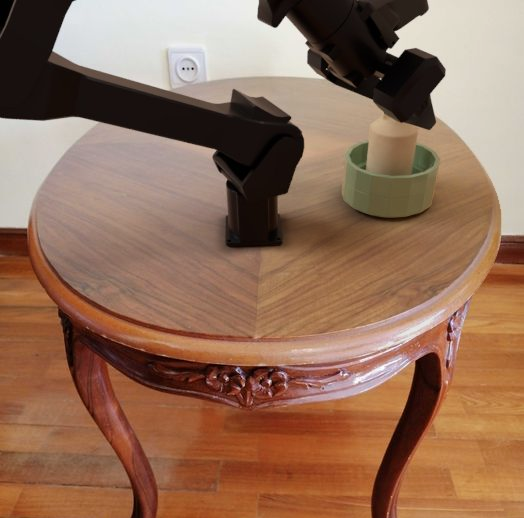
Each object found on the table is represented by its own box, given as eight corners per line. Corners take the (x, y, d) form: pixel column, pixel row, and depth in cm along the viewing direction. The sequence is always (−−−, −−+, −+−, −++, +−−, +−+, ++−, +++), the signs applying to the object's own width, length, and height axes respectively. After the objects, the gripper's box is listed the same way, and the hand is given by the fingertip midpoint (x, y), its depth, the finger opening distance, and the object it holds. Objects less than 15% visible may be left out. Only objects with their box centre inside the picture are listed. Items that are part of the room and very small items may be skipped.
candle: (356, 188, 76) (364, 108, 69) (396, 182, 77) (407, 103, 70) (373, 208, 72) (383, 126, 65) (415, 201, 73) (428, 120, 66)
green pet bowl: (442, 219, 71) (451, 175, 67) (348, 222, 71) (352, 179, 67) (420, 177, 79) (426, 137, 75) (336, 180, 79) (339, 139, 75)
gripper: (447, -45, 49) (517, 75, 60) (336, -70, 62) (409, 32, 73) (357, 70, 52) (438, 165, 63) (269, 23, 65) (348, 109, 75)
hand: (408, 112), depth 68 cm, fingers open, 9 cm apart
